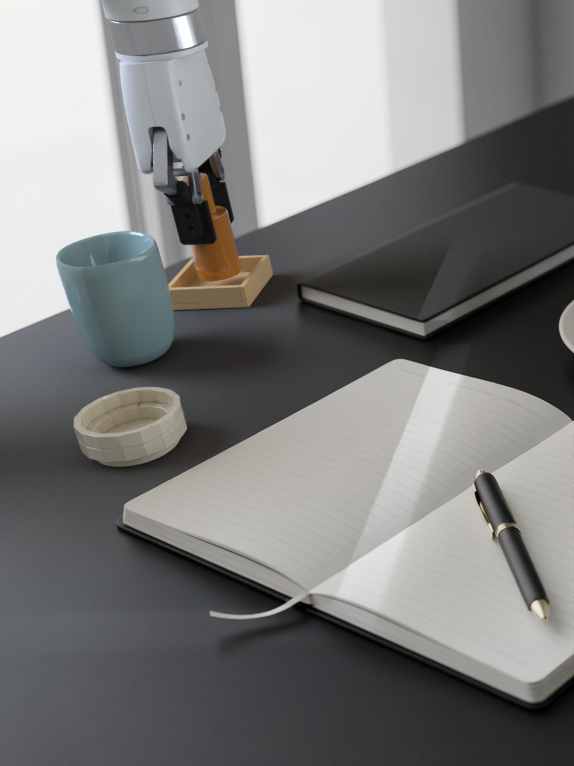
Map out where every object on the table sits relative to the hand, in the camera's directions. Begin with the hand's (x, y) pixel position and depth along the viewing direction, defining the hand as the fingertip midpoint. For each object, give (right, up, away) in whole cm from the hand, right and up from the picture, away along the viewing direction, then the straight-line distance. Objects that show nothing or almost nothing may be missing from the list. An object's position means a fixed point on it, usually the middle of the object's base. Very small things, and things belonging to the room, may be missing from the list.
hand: (207, 231), depth 118 cm
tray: (0, -5, +3) cm, 6 cm away
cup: (-3, -12, -8) cm, 15 cm away
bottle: (0, -4, +2) cm, 4 cm away
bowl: (+3, -19, -22) cm, 29 cm away
